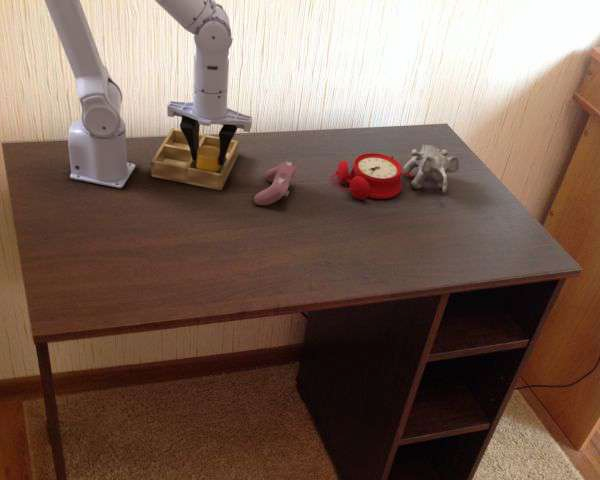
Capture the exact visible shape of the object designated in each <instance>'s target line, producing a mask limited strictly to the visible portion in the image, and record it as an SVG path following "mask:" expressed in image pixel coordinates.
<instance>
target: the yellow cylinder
mask: <svg viewBox="0 0 600 480" xmlns="http://www.w3.org/2000/svg"><path fill="white" fill-rule="evenodd" d="M219 154H220V149H218V148H216V147H214V146H202V147H199V148H198V149H197V156H196V167H197V169H199V170H204V171H209V172H214V173H215V172H218V171H219V170H220V168H221V165H219Z"/></svg>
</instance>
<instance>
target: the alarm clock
mask: <svg viewBox="0 0 600 480" xmlns="http://www.w3.org/2000/svg"><path fill="white" fill-rule="evenodd" d="M335 176H337V180H338V182H339V183H340V184H341V185H346V184H348V187H342V186H341V185H338V184H337V183H336V182H335V181H334V179H333V177H335ZM402 176H403V177H411V178H413V177H414V174H408V175H407V174H403V167H402V165H401V164H400V162H399V161H397V160H396V159H395V158H394V155H391V156H388V155H386V154H381V153H377V152H369V153H363V154H360V155H358V156H357V157H355V159H354V161H353V163H352V169H351V171H350V172H349V164H348V161H347V160H341V161H340V162H339V164H338V165H337V170H335V171H334V174H332V175H331V176H330V181H331V182H332V184H333V185H334V186H336V187H337V188H338V189H341V190H345V191H347V190H349V192H350V194H351V196H352V197H354V198H355V199H356V200H359V201H362V200H365V199H367V198H370V199H377V200H386V199H392V198H394V197H396V196H398V195H399V194H400V193H401V191H402V188H403V184H402V180H401V178H402Z"/></svg>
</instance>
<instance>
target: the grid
mask: <svg viewBox="0 0 600 480" xmlns="http://www.w3.org/2000/svg"><path fill="white" fill-rule="evenodd" d="M239 143H240V142H239V140H235V139H232V140H231V142H230V144H229V147H228V150H227V154H226V159H225V162H224V164H223V165H221V168H220V170H219V171H218V172H215V173H214V172H209V171H204V170H199V169H197V167H196V160H192V156H191V151H190V148H189V145H188V142H187V140H186V138H185V136H184V134H183V132H182V131H181V129H180V128H174V127H171V129H170V130H169V132H168V133H167V135H166V136H165V139H164V140H163V142H162V143H161V145H160V146H159V148H158V149H157V151H156V153H155V155H154V156H153V158H152V160H151V161H150V168H151V169H150V171H151V177H153V178H158V179H162V180H167V181H173V182H176V183H177V182H178V183H183V184H188V185H192V186H198V187H203V188H208V189H212V190H217V191H222V190H223V188H224V186H225V184H226V182H227V179H228V178H229V175H230V173H231V171H232V169H233V167H234V164H235V162H236V160H237V158H238V156H239ZM202 146H214V147H216V148H218V149H220V140H219V136H215V135H214V136H213V135H209V134H205V133H199V147H202Z"/></svg>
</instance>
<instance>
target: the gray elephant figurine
mask: <svg viewBox="0 0 600 480" xmlns="http://www.w3.org/2000/svg"><path fill="white" fill-rule="evenodd" d="M448 154H449V151H448V150H447V149H445V148H443V149H441V150H440V149H439V148H437V147H436V146H434V145H433V144H429V145H428V144H422V146H421V148H420V150H419V151H418V149H416V148H413V149H412V150H411V151H410V155H411V157H410V159H409V160H408V161H407V162H406V164H405V165H404V166H403V167H402V174H407V175H410V173H412V171H413V170H414V169H415V168H417V169H418V171H417V173H416V175H415V177H414V178H413V179H412V180H411V182H410V186H411V187H412V188H414V189H416V190H418V189H419V190H420V189H422V185H423V183H424V182H425V180H426V179H427V178H428V177H430V178H431V179H432V180H434V181H436V185H435V186H436V188H437V189H441V192H442V193H443V194H446V192H447V189H448V173H456V172H457V171H458V170H459V169H460V161H459V159H458V157H456V156H447V155H448Z"/></svg>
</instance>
